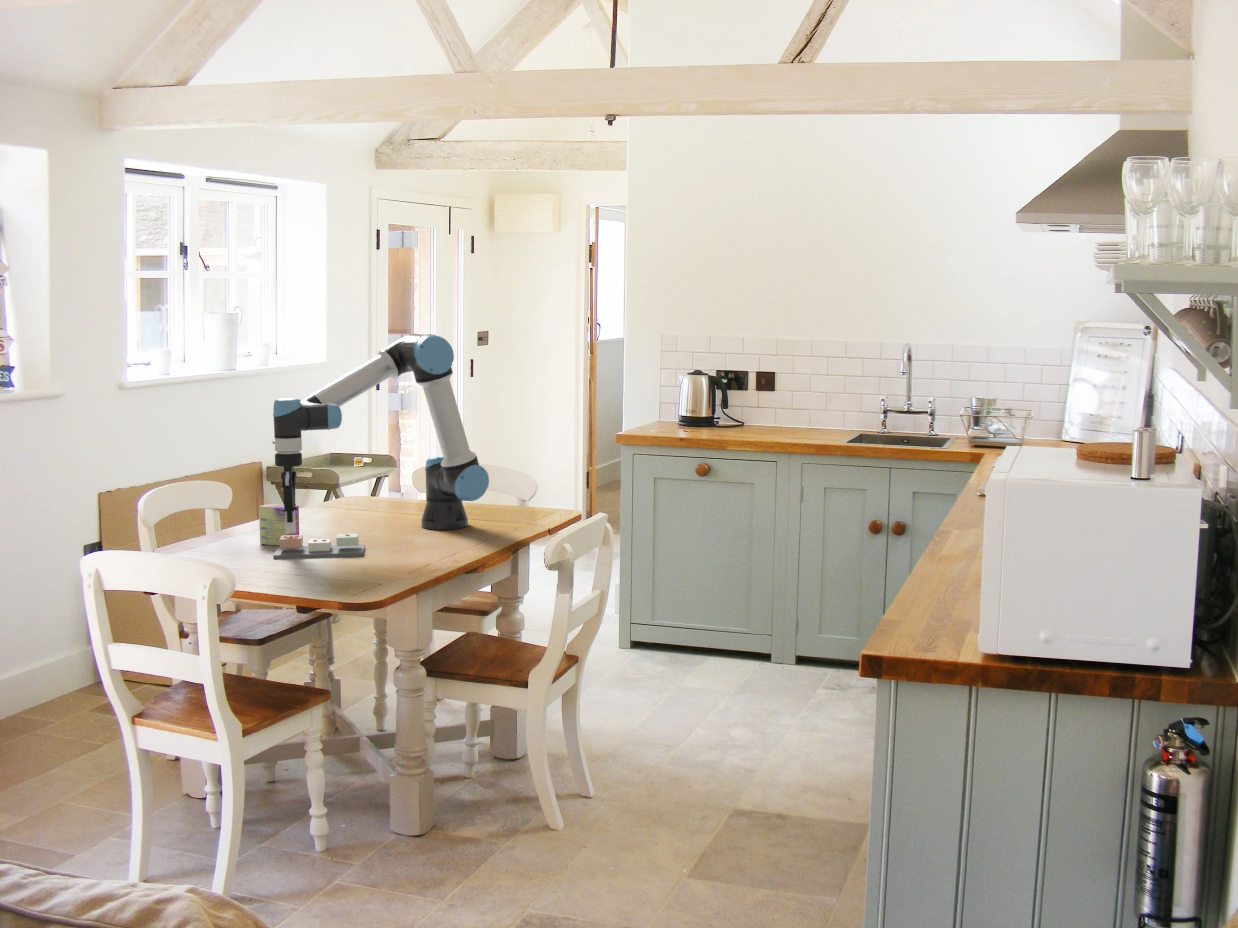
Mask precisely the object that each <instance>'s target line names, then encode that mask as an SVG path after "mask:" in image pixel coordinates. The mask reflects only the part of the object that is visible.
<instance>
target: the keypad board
mask: <svg viewBox="0 0 1238 928" xmlns="http://www.w3.org/2000/svg"><path fill="white" fill-rule="evenodd" d="M364 552H365V544H358V546H337V544H334V545H332V544H331V549H330V551H314V552H308V545H306V546H305V545H304V546H303V545H302V547H297V548H280V546H278V547H277V548H276V550H275V552H274V553H273V557H272V558H273V560H276V559H277V560H281V559H284V560H285V559H309V558H310V559H312V558H317V559H318V558H343V557H345V558H346V557H364Z"/></svg>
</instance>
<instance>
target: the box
mask: <svg viewBox="0 0 1238 928" xmlns="http://www.w3.org/2000/svg"><path fill="white" fill-rule="evenodd" d="M295 507H297V510H295V526H296V533H286V531H285V511H282V509H284V504H279V503H265V504H263V505H262V504H261V505H259V507H258V509H259V510H258V514H259V517H258V518H259V519H258V520H259V543H260V545H269V546H271V545H272V546H278V547H280V542H279V539H280V538H281V536H283V535H300V510H299V509H300V507H299V505H295Z"/></svg>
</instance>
